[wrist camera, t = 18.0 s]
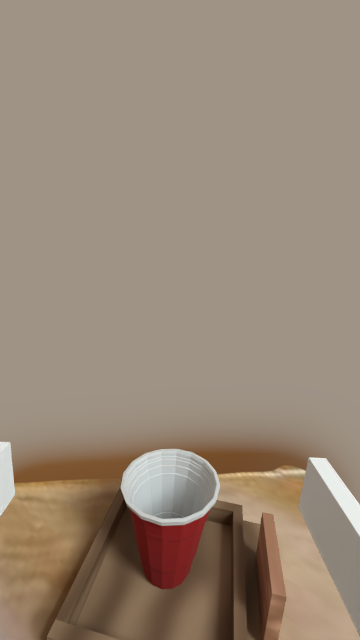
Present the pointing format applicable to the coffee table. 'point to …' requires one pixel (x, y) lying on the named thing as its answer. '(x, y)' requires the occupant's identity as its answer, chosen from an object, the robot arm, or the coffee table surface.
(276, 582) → the cup dock
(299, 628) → the coffee table surface
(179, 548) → the plastic cup
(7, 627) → the coffee table surface
